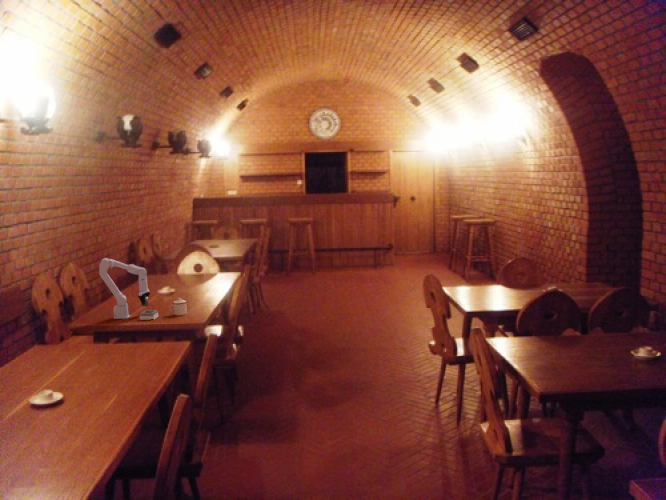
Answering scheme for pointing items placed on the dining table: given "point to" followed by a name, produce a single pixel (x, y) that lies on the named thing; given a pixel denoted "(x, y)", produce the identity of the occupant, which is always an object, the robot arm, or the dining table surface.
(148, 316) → the grey square tray
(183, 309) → the teacup with lid
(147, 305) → the gray domed cylinder
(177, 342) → the dining table surface
